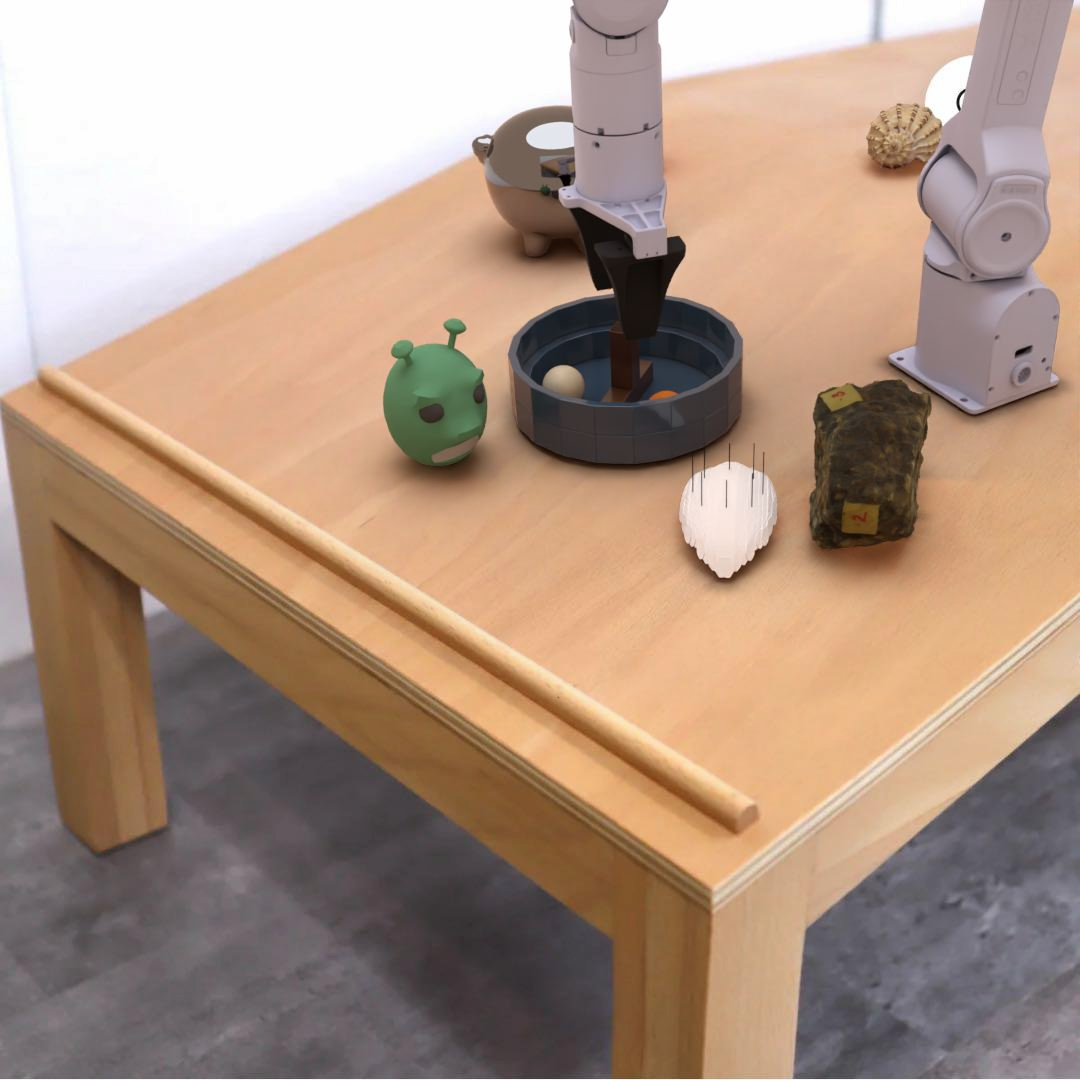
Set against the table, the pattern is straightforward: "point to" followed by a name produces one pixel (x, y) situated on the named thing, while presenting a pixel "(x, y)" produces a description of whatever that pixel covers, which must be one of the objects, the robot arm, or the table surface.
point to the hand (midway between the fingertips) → (624, 310)
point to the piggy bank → (532, 174)
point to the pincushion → (728, 514)
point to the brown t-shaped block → (626, 369)
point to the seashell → (904, 135)
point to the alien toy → (435, 400)
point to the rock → (867, 463)
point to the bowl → (611, 427)
